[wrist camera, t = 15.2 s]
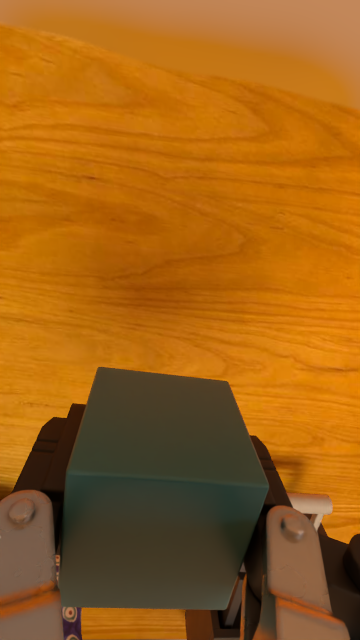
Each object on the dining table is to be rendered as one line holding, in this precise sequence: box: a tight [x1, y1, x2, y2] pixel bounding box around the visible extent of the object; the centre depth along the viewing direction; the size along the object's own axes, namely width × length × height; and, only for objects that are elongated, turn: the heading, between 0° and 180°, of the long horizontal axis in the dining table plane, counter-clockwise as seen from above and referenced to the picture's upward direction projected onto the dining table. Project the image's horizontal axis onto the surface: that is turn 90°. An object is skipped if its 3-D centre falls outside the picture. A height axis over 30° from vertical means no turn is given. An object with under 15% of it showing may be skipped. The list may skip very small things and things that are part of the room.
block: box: [58, 367, 269, 610], centre depth 10 cm, size 4×4×4 cm
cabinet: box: [185, 609, 240, 640], centre depth 36 cm, size 11×10×8 cm
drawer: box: [217, 493, 332, 629], centre depth 32 cm, size 15×9×6 cm, turn 171°
